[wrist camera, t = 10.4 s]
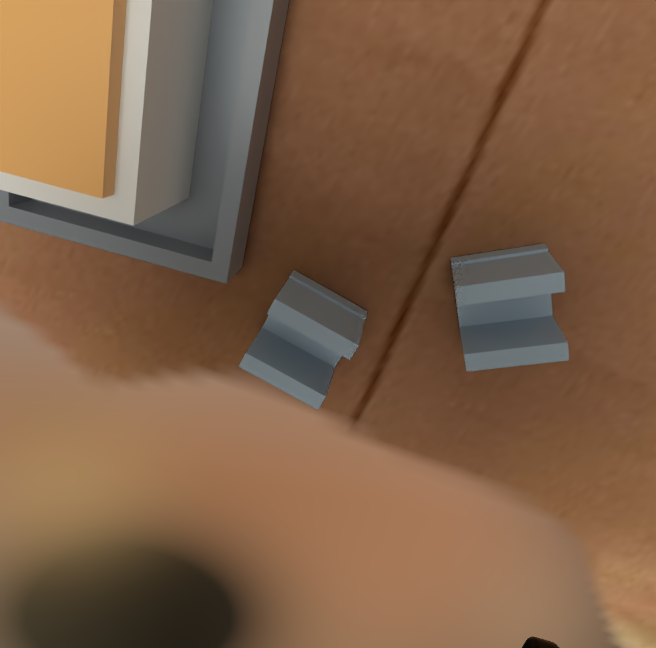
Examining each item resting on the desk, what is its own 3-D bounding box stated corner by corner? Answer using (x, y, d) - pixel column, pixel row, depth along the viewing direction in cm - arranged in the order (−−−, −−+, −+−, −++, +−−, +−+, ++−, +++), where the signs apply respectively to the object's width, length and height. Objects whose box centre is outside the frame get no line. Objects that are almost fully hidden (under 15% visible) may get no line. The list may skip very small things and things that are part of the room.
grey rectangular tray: (308, -109, 15) (295, -132, 14) (241, 267, 20) (226, 284, 18) (27, -178, 16) (-18, -209, 14) (26, 208, 20) (-8, 219, 19)
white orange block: (218, -45, 16) (147, -91, 12) (188, 197, 19) (122, 231, 15) (84, -78, 16) (-35, -135, 12) (75, 167, 19) (-23, 191, 15)
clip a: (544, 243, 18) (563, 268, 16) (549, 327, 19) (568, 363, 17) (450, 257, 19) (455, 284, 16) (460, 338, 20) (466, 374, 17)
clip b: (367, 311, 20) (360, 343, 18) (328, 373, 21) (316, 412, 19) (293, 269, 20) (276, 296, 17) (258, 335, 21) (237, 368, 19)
